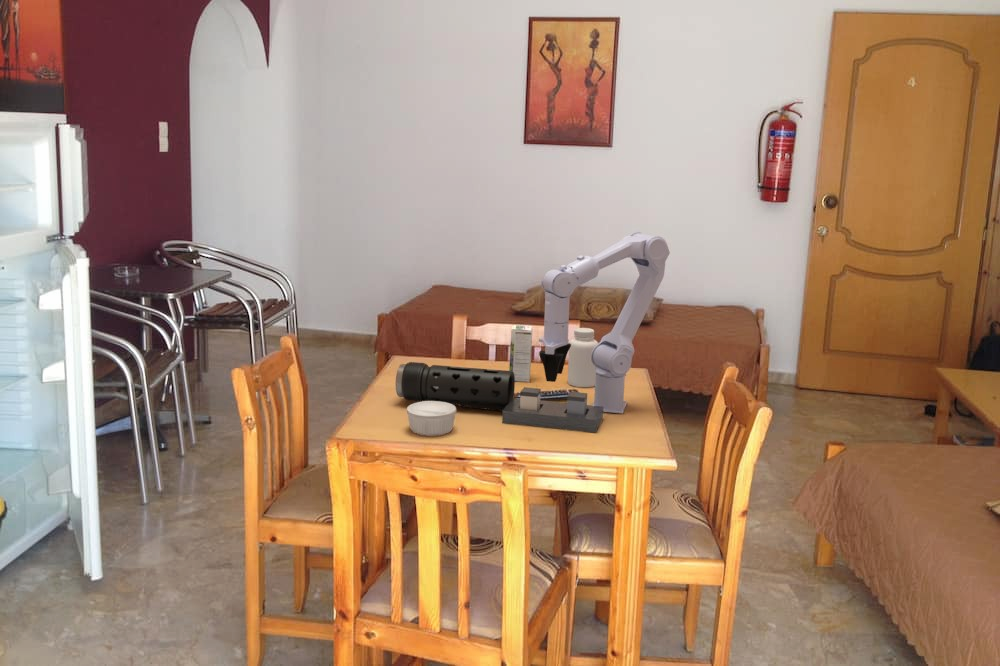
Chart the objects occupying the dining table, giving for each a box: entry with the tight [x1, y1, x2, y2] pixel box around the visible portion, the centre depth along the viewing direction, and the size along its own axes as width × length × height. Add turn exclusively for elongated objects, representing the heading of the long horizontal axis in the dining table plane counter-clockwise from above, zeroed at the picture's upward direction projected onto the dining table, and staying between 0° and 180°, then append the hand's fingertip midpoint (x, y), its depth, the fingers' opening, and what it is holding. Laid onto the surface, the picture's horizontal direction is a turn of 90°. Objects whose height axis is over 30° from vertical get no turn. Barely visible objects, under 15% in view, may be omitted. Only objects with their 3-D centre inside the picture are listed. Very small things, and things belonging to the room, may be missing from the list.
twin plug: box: [566, 391, 588, 415], centre depth 221 cm, size 4×4×7 cm
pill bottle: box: [567, 327, 599, 388], centre depth 254 cm, size 8×8×15 cm
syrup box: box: [508, 324, 533, 383], centre depth 257 cm, size 6×6×14 cm
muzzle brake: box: [394, 361, 516, 411], centre depth 232 cm, size 10×28×10 cm, turn 78°
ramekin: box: [406, 401, 457, 437], centre depth 214 cm, size 11×11×5 cm
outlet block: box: [501, 397, 604, 434], centre depth 223 cm, size 11×22×3 cm, turn 76°
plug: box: [519, 386, 542, 410], centre depth 224 cm, size 4×4×7 cm
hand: (554, 377), depth 226 cm, fingers open, 7 cm apart
